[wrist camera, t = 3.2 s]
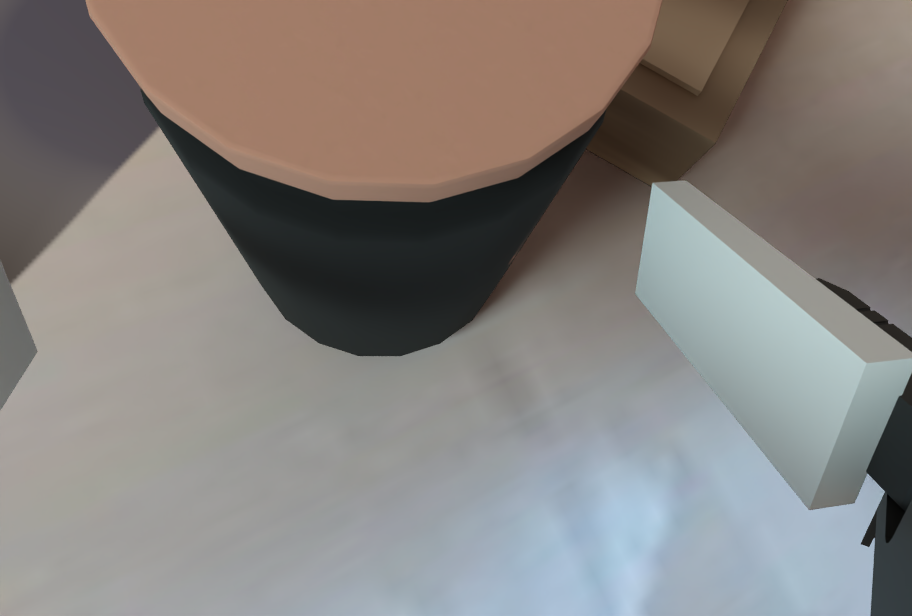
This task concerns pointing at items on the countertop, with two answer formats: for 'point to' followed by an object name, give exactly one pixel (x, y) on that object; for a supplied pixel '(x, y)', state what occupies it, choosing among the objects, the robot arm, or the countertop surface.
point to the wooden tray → (684, 86)
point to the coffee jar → (379, 140)
